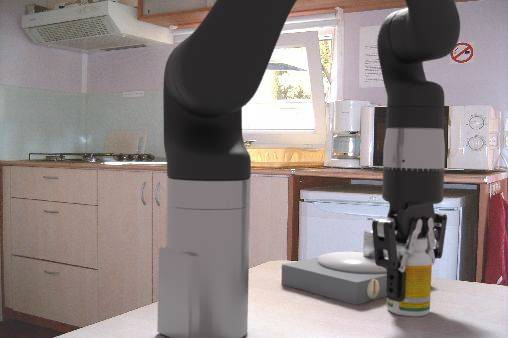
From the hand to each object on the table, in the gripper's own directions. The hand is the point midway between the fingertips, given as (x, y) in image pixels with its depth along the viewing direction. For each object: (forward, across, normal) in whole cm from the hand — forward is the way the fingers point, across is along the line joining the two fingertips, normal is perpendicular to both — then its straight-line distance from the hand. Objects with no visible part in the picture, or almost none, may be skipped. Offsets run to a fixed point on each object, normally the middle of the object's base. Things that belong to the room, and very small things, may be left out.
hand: (409, 295), depth 74 cm
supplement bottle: (+2, 0, 0) cm, 2 cm away
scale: (+2, +6, +13) cm, 14 cm away
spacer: (-2, +11, +13) cm, 17 cm away
